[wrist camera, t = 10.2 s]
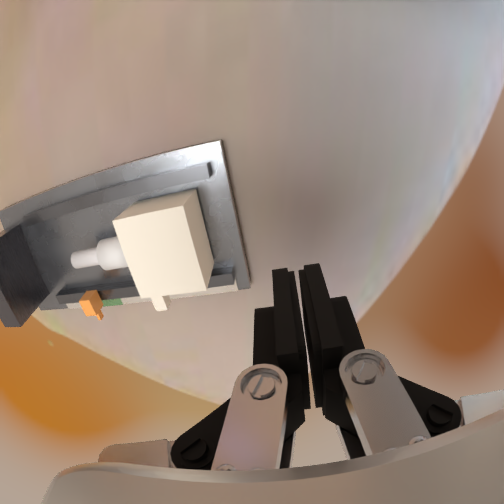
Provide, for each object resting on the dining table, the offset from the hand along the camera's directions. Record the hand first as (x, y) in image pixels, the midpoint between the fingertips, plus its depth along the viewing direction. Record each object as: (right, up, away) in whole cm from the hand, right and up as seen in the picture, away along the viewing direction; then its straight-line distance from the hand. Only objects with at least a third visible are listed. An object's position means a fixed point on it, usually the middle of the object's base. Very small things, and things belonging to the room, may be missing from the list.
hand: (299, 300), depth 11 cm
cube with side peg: (-10, +2, +13) cm, 16 cm away
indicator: (-16, -3, +14) cm, 21 cm away
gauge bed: (-15, +3, +14) cm, 20 cm away
